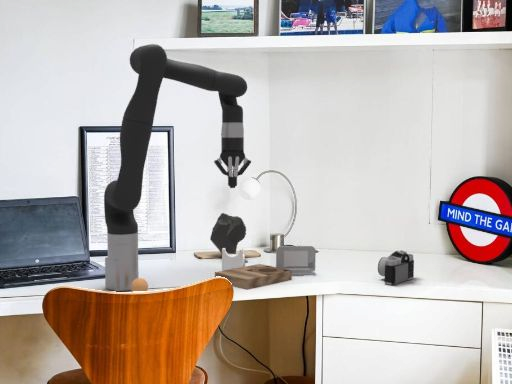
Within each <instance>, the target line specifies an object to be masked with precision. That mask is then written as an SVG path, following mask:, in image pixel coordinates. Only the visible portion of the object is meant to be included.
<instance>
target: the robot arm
mask: <svg viewBox="0 0 512 384" xmlns="http://www.w3.org/2000/svg"><path fill="white" fill-rule="evenodd" d="M167 56H168V55H167V53H166V50H165V49H164V48H163V46H161V45H159V44H157V43H150V44H146V45H140V46H139V47H137V48H135V49H134V50H133V51H132V52H131V54H130V56H129V64H130V67H131V69H132V70H133V72H135V73H136V74H138V77H137V83H136V87H135V90H134V93H133V94H132V96H131V98H130V100H129V102H128V104H127V106H126V108H125V110H124V113H123V116H122V120H121V126H120V130H119V148H120V167H119V172H118V174H117V175H118V176H117V179H115V180H113V181H111V182H109V183H108V185H106V188H105V190H104V195H103V196H104V197H103V203H104V204H103V207H104V222H105V226H106V230H107V232H106V233H107V234H106V236H107V239H106V240H107V241H106V242H107V256H106V257H105V258H104V268H105V269H104V271H105V272H104V275H105V278H104V279H105V281H104V282H105V286H104V287H105V289H106V290H107V289H108V290H111V291H114V292H121V291H124V292H125V291H126V292H127V291H132V290H131V284H132V282H133V281H134V280H135V279H137V278H139V225H138V222H137V221H136V218H135V214H134V210H135V209H136V208H137V207H138V206H139V204H140V202H141V200H142V199H141V198H142V191H143V178H144V169H145V164H146V160H147V156H148V150H149V145H150V141H151V136H152V131H153V125H154V120H155V114H156V109H157V104H158V99H159V98H158V97H159V93H160V90H161V86H162V83H163V79H168V80H170V81H171V80H172V81H176V82H179V83H182V84H184V85H185V84H186V85H188V86H192V87H195V88H199V89H201V90H205V91H208V92H218V97H219V103H220V107H221V110H222V111H221V114H222V115H221V130H220V131H221V132H220V133H221V134H220V138H221V140H220V141H221V142H220V143H221V145H220V146H221V149H220V150H221V152H220V154H219V157H218V158H217V159H214V161H213V163H214V164H215V166H216V167H217V168H218V170H219V171H220V172H221V173H222V175H225V176H227V185H228V187H229V188H230V189H235V188H236V187H237V186H238V177H239V176H242V175H243V174H244V173H245V171H246V170H247V169H248V167H249V166H250V164H251V163H252V160H250V159H248V158H247V157H246V154H245V150H244V149H245V147H244V146H245V143H244V142H245V140H244V139H245V138H244V137H245V136H244V133H245V131H244V129H245V128H244V109H243V107H242V106H241V105H239V104H238V100H237V99H238V98H240V97H242V96H244V95H245V94H246V92H247V91H248V84H247V81H246V80H245V79H244V77H242V76H240V75H238V74H234V73H230V72H225V71H224V72H223V71H218V70H215V69H212V68H210V67H207V66H203V65H201V64H196V63H188V62H184V61H178V60H175V59H171V58H168V57H167ZM222 164H224V165H225V166H226V169H225V168H224V167H223V165H222ZM241 164H243V165H241ZM239 166H241V167H240V169H239Z"/></svg>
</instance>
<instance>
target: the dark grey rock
mask: <svg viewBox="0 0 512 384" xmlns="http://www.w3.org/2000/svg"><path fill="white" fill-rule="evenodd" d="M246 236H247V226H246V224H245V222H244V221H243V218H242V217H239V216H238V215H237V216H236V215H235V216H232V215H230V214H227V213H224V212H222V213H221V214H220V215H219V216H218V218H217V219H216V222H215V224H214V225H213V227H212V230H211V234H210V241H211V242H212V244H213V245H214V246H215V247H216V248H217V250H218V251H219V252H220V258H221V257H222V249H223V248H225V249H226V252H227V253H228V254H237V248H238V245H239V242H241V241H242V240H244V239H245V237H246ZM248 263H249V261H248V260H246V259H245V262H244V264H248Z"/></svg>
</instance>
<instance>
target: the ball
mask: <svg viewBox="0 0 512 384" xmlns="http://www.w3.org/2000/svg"><path fill="white" fill-rule="evenodd" d="M148 288H149V284H148V282H147V280H146V279H145V278H142V277H138V278H137V279H135V280H134V281H133V282H132V284H131V290H130V291H131V292H132V293H133V291H148V290H149V289H148Z"/></svg>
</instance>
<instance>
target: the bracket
mask: <svg viewBox="0 0 512 384" xmlns="http://www.w3.org/2000/svg"><path fill="white" fill-rule="evenodd" d="M238 251H239V252H238V253H236V254H228V253H227V252H226V249H225V248H223V249H222V258H221V271H224V270H229V269H235V268H240V267H244V265H245V263H244V262H245V260H246V255H245V254H244V249H243V247H241V248H239V250H238Z"/></svg>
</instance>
